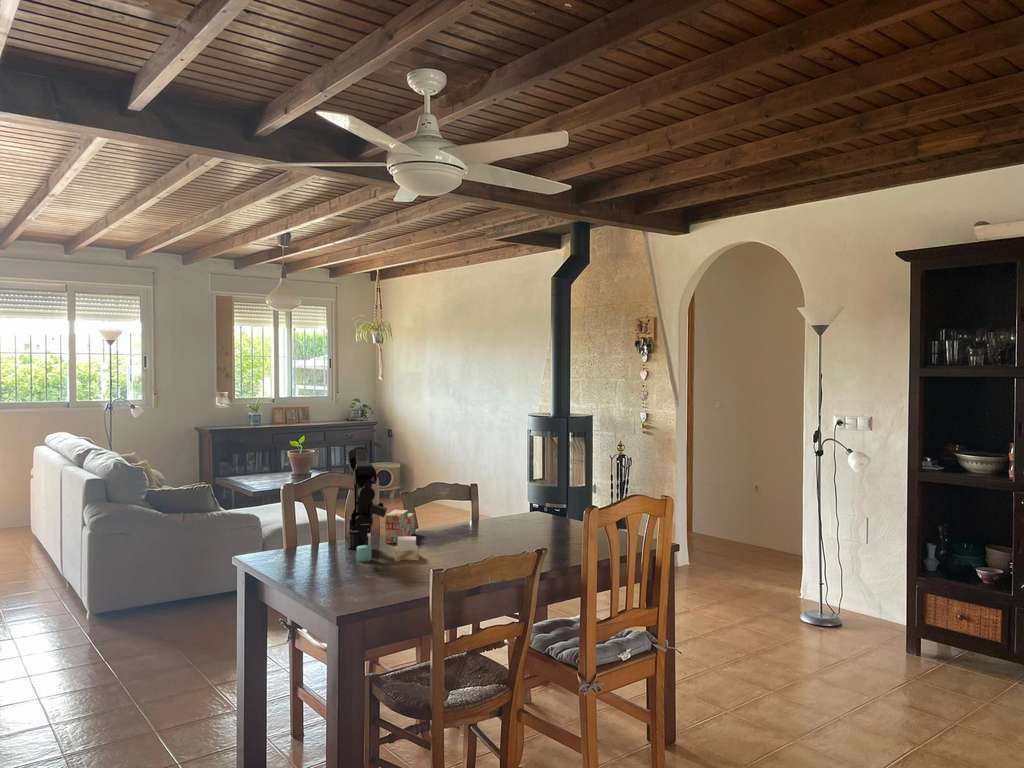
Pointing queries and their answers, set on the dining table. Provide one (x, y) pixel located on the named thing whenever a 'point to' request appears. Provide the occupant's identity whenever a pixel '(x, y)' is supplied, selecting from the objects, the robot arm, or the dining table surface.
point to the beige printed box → (398, 525)
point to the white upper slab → (406, 543)
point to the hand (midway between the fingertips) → (364, 538)
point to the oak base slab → (406, 554)
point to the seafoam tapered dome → (363, 553)
